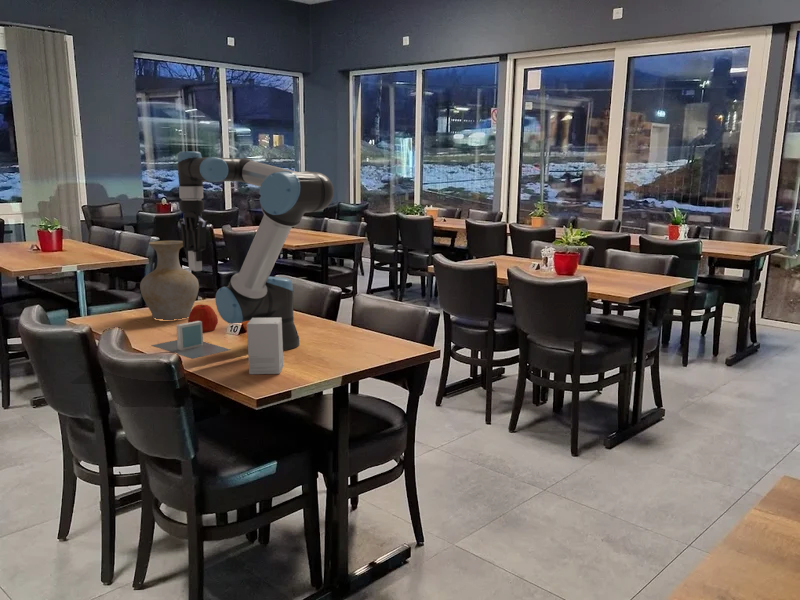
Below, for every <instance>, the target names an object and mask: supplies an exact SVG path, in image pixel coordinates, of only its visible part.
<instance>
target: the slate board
mask: <svg viewBox="0 0 800 600" xmlns="http://www.w3.org/2000/svg"><path fill="white" fill-rule="evenodd" d="M151 346H152V347H155V348H157V349H158V348H159V349H161V350H164V351H167V352H169V353H173V352H176V353H178V354H177V355H179V356H182V357H185V358H189V359H191V360H193V359H199V358H203V357H207V356H209V355H210V356H211V355H215V354H219V353H224V352H227V351H231V350H232V349H230V348H227V347H224V346H219V345H218V344H217V345H216V344H213V343H209V342H206V341H203V346H199V347H195V348H190V349H186V350H178V343H177V339H175V340H171V341H170V340H169V341H166V342H161V343H156V344H151ZM176 353H175V354H176Z"/></svg>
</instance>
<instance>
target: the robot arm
mask: <svg viewBox="0 0 800 600" xmlns="http://www.w3.org/2000/svg"><path fill="white" fill-rule="evenodd" d="M176 163H177V164H176V165H177V175H178V176H177V177H178V191H179V192H178V193H179V199H180V201H179V209H180V212H182V213H183V216H182V217H183V218H179V220H178V223H179V225H180V231H181V232H180V233H181V241H183V247H182V248H184V249H186V250H185V251H187V259H188V271H189V272H190V271H193V272H201V271H203V254H202V252H203V251H204V250H206V249H207V226H208V220H204V219H203V216H202V212H204V211H205V201H204V200H202V199H204V184H203V182H208V183H209V182H210V183H218V182H219V183H220V182H241V183H245V184H249V185H252V186H255V187H259V191H258V194H259V195H260V197H259V203H260V206H261V211H262V213H263V216H262V219H261V222H260V223H259V226H258V228H257V230H256V232H255V236H254V238H253V240H252V242H251V244H250V246H249V250H248V251H247V254H246V256H245V257H244V260H243V263H242V265H241V268H240V270H239V272H237V273H235V274H233V275H232V276H231V278H230V281H229V282H228V285H227V286H222V287H220V288H219V289H218V290H217V291H216V293H215V298H214V299H215V306H216V309H217V312H218V314H219V316H220V318H221V319H222V320H224V322H226V323H227V324H233V325H234V324H241V323H245V322H249V321H250V320H251V319H252V318H282V340H283V351H287V350H291V349H295V348H297V347H299V346H300V336H299V334H298V330H297V328H296V325H295V322H294V319H295V318H294V317H295V316H294V289H293V287H294V286H293V281H292V280H291V279H289V278H287V277H279V276H270V275H271V273H272V270H273V268H274V267H275V263H276V262H277V260H278V258H279V256H280V254H281V251H282V250H283V249H282V248H283V247H284V244H285V243H286V240H287V237H288V235H289V234H290V232H291V230H292V228H293V227H294V228H295V227H297V226H298V225H300V223H301V220H302V218H303V216H304V215H305V213H307V214H308V213H316V212H317V213H318V212H320V211H323V210H325V209H326V208H327V207H328V206H329V205H330V204H331V202H332V200H333V198H334V195H335V194H334V193H335V189H334V186H333V182H332V181H331V179H330V178H329V177H328V176H327V175H325V174H324V173H321V172H319V171H318V172H317V171H310V170H304V171H295V170H290V169H287V168H283V167H279V166H275V165H271V164H267V163H263V162H260V161H259V162H258V161H257V160H256V159H255V158H249V157H241V158H240V157H239V158H238V157H237V158H236V157H235V158H233V157H216V156H208V157H203V156H202V153H201V152H200V151H193V150H192V151H189V150H187V151H179V152H178V153H177V162H176Z"/></svg>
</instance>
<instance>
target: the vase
mask: <svg viewBox="0 0 800 600" xmlns="http://www.w3.org/2000/svg"><path fill="white" fill-rule="evenodd" d="M148 244H149V246H150V248H152V249H154V250H155V252H156V256H157V258H156V259H157V264H156V267H155V269H154V270H152V271H151V272H149V273H147V274H146V275H145V276H144V277H143V278H142V279H141V281H140V283H139V284H140V285H139V288H140V290H139V291H140V293H141V296H142V299H143V301H144V303H145V304H146V305H147V308H148V310H149V311H150V313H151V315H152V318H153V317H154V318H156V319H163V320H174V319H182V318H187V317H189V315H190V312H191V310H192V309H193V307H194V306H195V301H196V300H197V297H198V294H199V289H200V288H199V287H200V286H199V279H198V278H197V277H196V276H195V275H194V274H193V273H191V272H190V271H189V270H187V269H184V267H182V266H181V264H180V259H179V258H180V257H179V253H180V250H181V249H182V248H184V247H183V241H182V240H158V241H157V240H156V241H150V242H148Z"/></svg>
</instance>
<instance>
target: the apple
mask: <svg viewBox="0 0 800 600" xmlns="http://www.w3.org/2000/svg"><path fill="white" fill-rule="evenodd" d="M195 321H201V322H202V331H203V333H208V332H213V331H215V330H216V327H217V325H218V322H219V320H218V316H217V313H216V311H215V310H214V309H213V308H212V307H211V306H210V305H209V304H196V305H194V306H193V307H192V309H191V312H190V315H189V318H188V322H187V323H189V322H195Z"/></svg>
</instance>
